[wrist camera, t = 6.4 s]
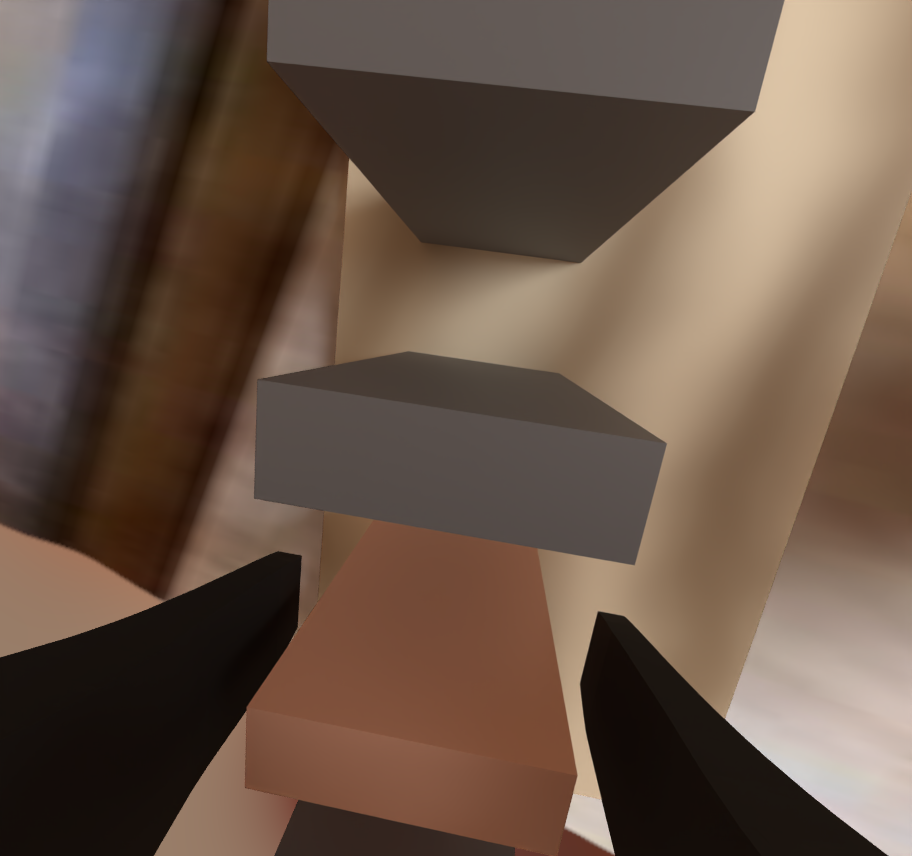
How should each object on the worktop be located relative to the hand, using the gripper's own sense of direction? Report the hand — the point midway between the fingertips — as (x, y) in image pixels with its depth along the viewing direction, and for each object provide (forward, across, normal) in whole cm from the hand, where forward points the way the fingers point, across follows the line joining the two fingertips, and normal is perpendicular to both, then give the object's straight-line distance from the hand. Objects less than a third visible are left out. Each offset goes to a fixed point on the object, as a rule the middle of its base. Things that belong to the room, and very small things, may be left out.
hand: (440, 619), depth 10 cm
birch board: (+6, -3, -4) cm, 8 cm away
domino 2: (+5, 0, -5) cm, 7 cm away
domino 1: (+5, 0, -10) cm, 11 cm away
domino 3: (+5, 0, 0) cm, 5 cm away
